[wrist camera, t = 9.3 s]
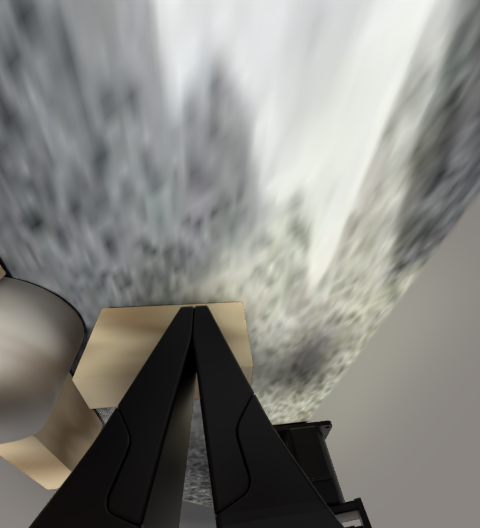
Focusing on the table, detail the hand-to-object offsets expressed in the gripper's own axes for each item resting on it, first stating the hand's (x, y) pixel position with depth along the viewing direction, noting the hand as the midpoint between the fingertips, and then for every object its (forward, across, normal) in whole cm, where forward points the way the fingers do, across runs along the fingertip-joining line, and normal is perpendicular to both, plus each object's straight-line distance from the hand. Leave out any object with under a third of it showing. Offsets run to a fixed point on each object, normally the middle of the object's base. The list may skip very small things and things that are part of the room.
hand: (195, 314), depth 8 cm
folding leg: (+5, +2, +5) cm, 7 cm away
